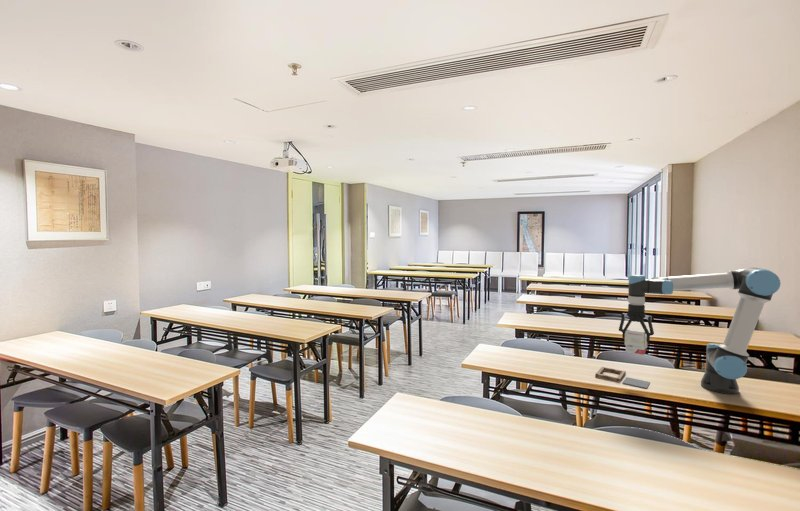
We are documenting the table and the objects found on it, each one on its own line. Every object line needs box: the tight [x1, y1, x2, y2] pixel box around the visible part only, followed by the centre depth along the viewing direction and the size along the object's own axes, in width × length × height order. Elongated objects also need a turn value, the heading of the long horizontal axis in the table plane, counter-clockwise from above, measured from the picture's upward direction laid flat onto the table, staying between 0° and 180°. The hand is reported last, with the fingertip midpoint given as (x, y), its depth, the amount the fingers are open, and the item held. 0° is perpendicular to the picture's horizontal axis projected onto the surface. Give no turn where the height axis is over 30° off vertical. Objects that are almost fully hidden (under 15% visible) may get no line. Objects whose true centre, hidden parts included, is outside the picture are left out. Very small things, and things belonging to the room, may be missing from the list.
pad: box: [622, 376, 651, 390], centre depth 204 cm, size 11×11×1 cm
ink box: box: [625, 328, 647, 355], centre depth 204 cm, size 9×5×12 cm, turn 47°
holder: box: [595, 366, 627, 383], centre depth 215 cm, size 12×16×2 cm
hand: (635, 346), depth 204 cm, fingers closed on ink box, 8 cm apart
